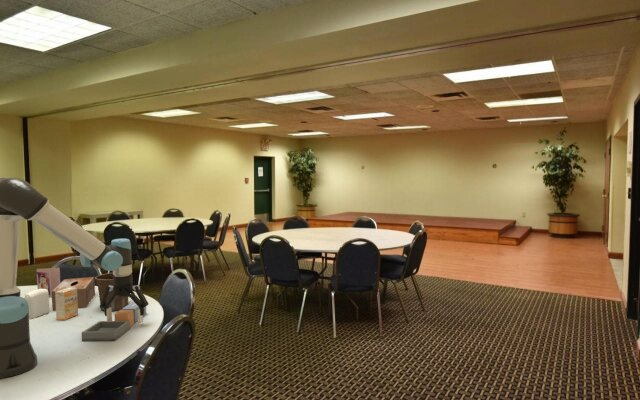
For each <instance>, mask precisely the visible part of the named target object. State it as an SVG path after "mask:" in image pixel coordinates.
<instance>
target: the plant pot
mask: <svg viewBox="0 0 640 400" xmlns="http://www.w3.org/2000/svg"><path fill="white" fill-rule="evenodd" d="M114 276H115V275H113V272H109V273H103V274H99V275H96V276H94V280H95V281H96V287H97V290H98V298H99V305H100V304H101V302H102V300H103V297H104V295H105V293H106V287H108V286H109V285H111V286H114V284H113V277H114ZM114 293H115V291H114V290H112V291H111V293H110V296H109V298H108V300H107V302H106V304H107V303H108V301H109V300H110V299H111V298H112V296H113V295H114ZM127 305H129V297H128V296H117V298H116V299H115V300H114V301H113V303H112V304H111V305H110V307H111V310H112V312H115V311H117V312H118V311H120V310H121V309H122V308H124V307H126V306H127ZM100 310H101V311H104V312H105V309H104V308H100Z"/></svg>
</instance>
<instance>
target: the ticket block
mask: <svg viewBox="0 0 640 400" xmlns="http://www.w3.org/2000/svg"><path fill="white" fill-rule="evenodd" d="M138 308H139V307H138V306H137V304H136V303H135V302H134V301H132V302H130V303H128V305H127V306H126V307H124V308H122V309H121V310H134V324H135V323H136V322H137V323H138ZM146 315H147V306H146V307H144V315H143V317H145V316H146Z"/></svg>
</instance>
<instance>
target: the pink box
mask: <svg viewBox="0 0 640 400" xmlns="http://www.w3.org/2000/svg"><path fill="white" fill-rule="evenodd" d="M60 268H61V267H51V268H50V267H47V268H36V283H37V286H36V287H37V289H47V290H48V293H49V299H52V291H53V290H54V289H55V288H56V287H57V286H58V285H59V284H60V283H61V271H60V270H61V269H60Z"/></svg>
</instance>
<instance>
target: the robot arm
mask: <svg viewBox="0 0 640 400" xmlns="http://www.w3.org/2000/svg"><path fill="white" fill-rule="evenodd" d="M23 219H24V220H26V221H33V222H35V223H36V224H37V225H38V226H40V227H42V228H43V229H45V230H46V231H47V232H49V233H51V234H52V235H54V236H55V237H56V238H58V239H59V240H61V241H62V242H64V243H65V244H67V245H68V246H69V247H71V248H73V249H74V250H76V252H78V253H79V262H80V264H81V266H82V267H84V268H89V267H90V268H92V267H97V268H101V269H104V270H105V271H110V272H112V273H113V275H115V276H114V277H113V284H114V286H111V285H109V286H108V287H106V293H105V295H104V297H103V300H102V302H101V304H100V303H99V308H100V309H101V308H104V309H105V310H104V317H106V321H113V314H112V313H113V311H112V310H111V307H110V305H111V304H112V303H113V301H114V300H115V299H116V298H117V296H128V298H129V299H131V300H132V302H135V303H136V304H137V306H138V307H139V308H138V321H137V323H138V324H139V325H140V324H142V323H143V321H144V316H145V315H144V307H146V308H147V307H148V306H149V302H148V300H147V298H146V297H145V295H144V293H143V291H142V289H141V285H140V284H137V285H133V274H132V273H133V265H132V264H133V263H132V244H131V240H130V239H129V238H115V239H112V240H111V243H110V244H109V245H106V244H105V243H103V242H102V241H101V240H99V239H98V238H97V237H96V236H94V235H93V234H91V232H89V231H87V230H85V229H84V228H83V227H82V226H80V225H79V224H78V223H76V222H75V221H74V220H72V219H71V218H69V216H66V215H65V214H64V213H63V212H61V211H59V209H58V208H55V206H53V205H52V204H50V200H49V199H48V198H47V197H46V196H45V195H43V194H42V193H41V192H40V191H38V190H37V189H36V188H35V187H34V186H33V185H32V184H31V183H29V182H27V181H26V180H24V179H22V178H19V177H0V379H3V378H2V377H6V378H10V376H11V377H15V376H18V375H20V374H23V372H24V373H26V372H28V371H30V370H32V369H33V368H35V367H36V366H37V365H38V355H37V353H36V352H35V350H34V347H33V345H32V342H31V331H30V319H29V306H28V302H27V300H26V299H25V297H22V296H21V292H22V291H21V289H20V288H19V287H18V286H17V277H18V276H17V275H18V263H19V247H20V234H21V221H22V220H23ZM112 290H114V291H115V293H114V295H113V296H112V298H111V299H110V300H109V301H108V303H107V304H106V302H107V300H108V298H109V296H110V293H111V291H112ZM134 291H135V292H134ZM135 293H136V294H135ZM143 315H144V316H143ZM17 374H18V375H17ZM14 375H15V376H14Z"/></svg>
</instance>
